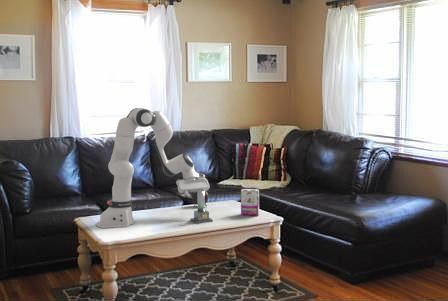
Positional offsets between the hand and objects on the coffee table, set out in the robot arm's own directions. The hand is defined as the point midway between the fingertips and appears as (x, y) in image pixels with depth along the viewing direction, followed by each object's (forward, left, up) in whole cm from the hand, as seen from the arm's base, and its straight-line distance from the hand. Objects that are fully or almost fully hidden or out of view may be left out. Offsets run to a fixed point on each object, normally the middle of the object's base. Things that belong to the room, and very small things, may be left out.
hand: (196, 196), depth 342 cm
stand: (0, -7, -14) cm, 16 cm away
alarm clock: (+15, +31, -14) cm, 37 cm away
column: (0, -7, -8) cm, 11 cm away
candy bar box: (+34, -6, -14) cm, 37 cm away
